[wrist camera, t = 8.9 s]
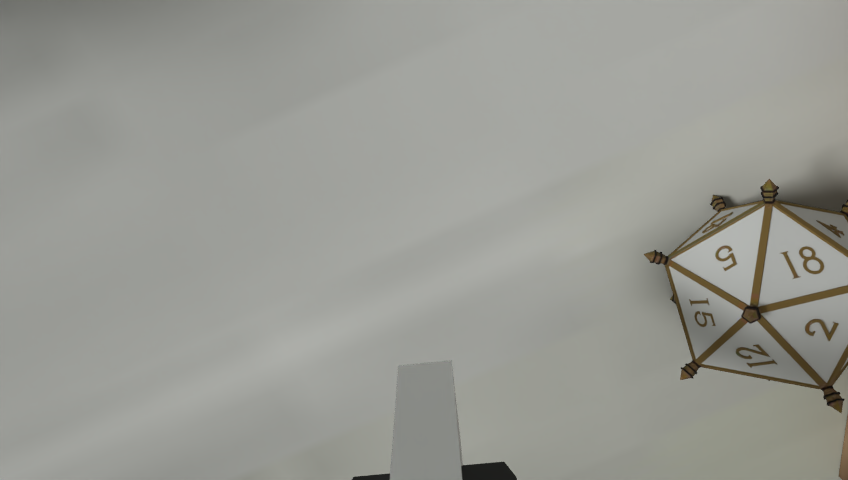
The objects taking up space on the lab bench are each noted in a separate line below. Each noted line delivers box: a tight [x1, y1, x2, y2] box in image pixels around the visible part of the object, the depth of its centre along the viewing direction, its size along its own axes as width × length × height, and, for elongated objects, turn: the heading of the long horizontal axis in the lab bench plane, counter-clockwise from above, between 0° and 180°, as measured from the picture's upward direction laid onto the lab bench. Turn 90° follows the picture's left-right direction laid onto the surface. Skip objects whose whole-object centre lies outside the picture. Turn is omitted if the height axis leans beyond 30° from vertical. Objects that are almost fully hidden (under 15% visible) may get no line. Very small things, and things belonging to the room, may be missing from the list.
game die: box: [644, 179, 848, 413], centre depth 22 cm, size 9×8×10 cm
